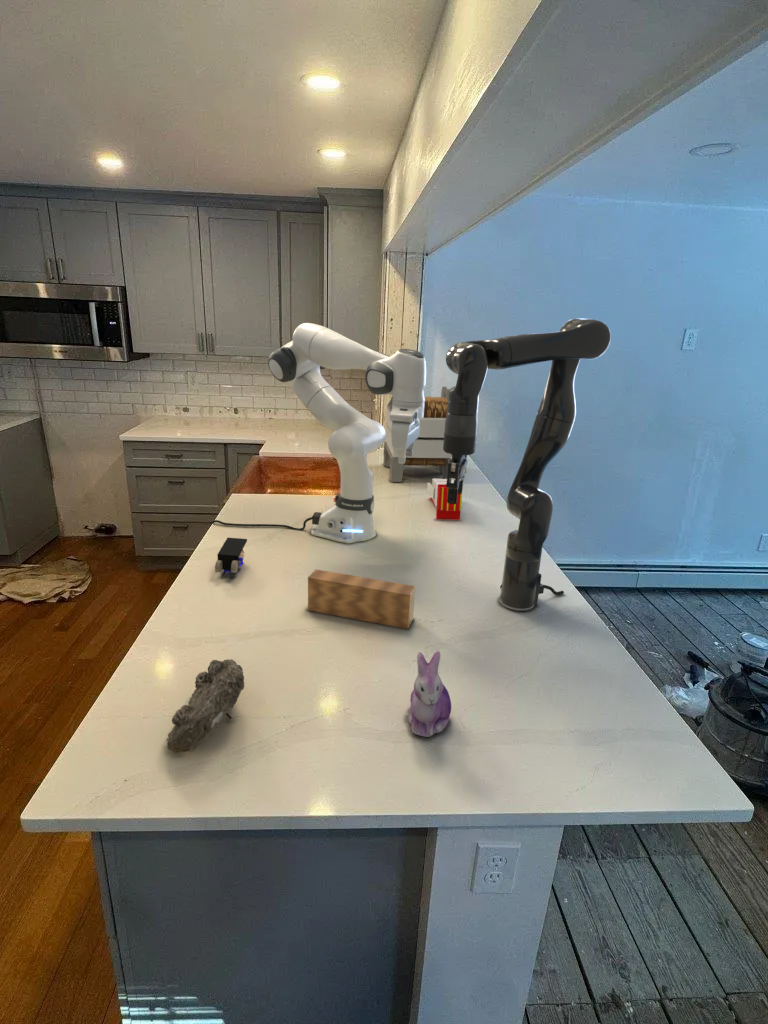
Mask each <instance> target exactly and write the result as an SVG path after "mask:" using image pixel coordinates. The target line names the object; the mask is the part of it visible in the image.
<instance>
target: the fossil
mask: <svg viewBox="0 0 768 1024" xmlns="http://www.w3.org/2000/svg"><path fill="white" fill-rule="evenodd" d="M243 670H244V669H243V667H242V665H240V664H237V662H236V661H235V660H234V659H232V658H231V659H227V658H226V659H224V660H223V661H222V660H217V659H212V660H211V661H210V663H209V665H208V666H207V671H201V672H199V673H198V674H197V675H196V676H195V680H194V684H195V685H194V687H195V689H194V690H193V693H192V694H191V697H190V698H189V700H188V704H184V705H182V706H181V707H180V709H177V710H176V711H175V713H174V715H173V716H172V718H171V723H172V724H173V727H172V730H171V731H170V732H168V734H167V738H166V741H167V742H166V745H167V749H168V750H169V751H173V752H174V753H176V754H178V753H182V752H188V751H189V752H192V751H193V750H195V748H196V747H197V746H199V744H200V743H201V742H203V741H204V740H205V739H206V738H207V737H208V736H209V735H210V734H211V733H212V732H214V730H215V729H217V727H218V726H219V724H220V722H221V721H222V720H223V719H224V718H225V716H226V717H227V719H229V720H233V717H232V715H230V714H229V710H230V709H231V708H234V706H235V704H236V703H237V702H238V699H239V697H240V695H241V693H242V691H243V690H245V689H244V688H245V675H244V671H243Z"/></svg>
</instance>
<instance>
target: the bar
mask: <svg viewBox="0 0 768 1024" xmlns="http://www.w3.org/2000/svg"><path fill="white" fill-rule="evenodd" d="M415 594H416V585H411V584H404V583H398V582H392V581H387V580H382V579H381V580H380V579H374V578H370V577H363V576H358V575H357V576H356V575H352V574H346V573H341V572H334V571H327V570H322V569H314V570H313V571H312V572H311V573H310V575H308V577H307V610H308V611H311V612H316V613H322V614H327V615H332V616H337V617H342V618H343V617H344V618H348V619H352V620H358V621H365V622H369V623H374V624H379V625H384V626H385V625H386V626H389V627H396V628H401V629H407V630H409V628H410V626H411V624H412V623H413V619H414V611H415V610H414V609H415Z"/></svg>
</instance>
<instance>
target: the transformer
mask: <svg viewBox="0 0 768 1024" xmlns="http://www.w3.org/2000/svg"><path fill="white" fill-rule="evenodd" d="M450 389H451V388H447V386H442V387H441V392H440V393H441V394H440V396H424V398H425V404H424V418H422V419H420V434H419V437H418V438H417V439H416V440H415V444H414V448H413V455H412V456H406V452H405V457H406V462H405V463H404V464H399V463H398V453H397V450H393V448H392V441H391V424H392V421H390V413H391V410H392V403H393V396H392V395H391V398H390V400H389V402H388V404H387V405H386V413H385V414H386V415H385V423H386V428H385V433H386V438H385V441H384V443H383V466H384V467H388V468H389V475H388V476H389V477H388V478H389V480H390V482H391V483H402V482H403V475H404V469H405V466H406V467H407V466H411V467H412V466H413V467H415V466H416V467H417V466H418V467H436V468H437V470H438V469H439V473H440V474H441V475H443V479H447V474H448V463H449V460H450V459H451V458H452V455H451V454H450V453H446V452H444V450H443V442H444V429H445V420H446V415H447V404H448V395H449V391H450ZM406 450H407V449H406Z"/></svg>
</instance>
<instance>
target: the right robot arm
mask: <svg viewBox="0 0 768 1024" xmlns="http://www.w3.org/2000/svg"><path fill="white" fill-rule="evenodd" d="M611 339H612V334H611V330H610V328H609V326H608V325H607V323H605V322H604V321H602V320H599V319H594V318H572V319H569V320H567V321H565V323H563V324H562V326H561V327H560V330H559V331H554V332H553V331H552V332H541V333H539V332H538V333H524V334H515V335H507V336H501V337H497V338H492V339H480V340H467V341H461V342H456V343H454V344H453V345H451V346H450V347H449V349H448V350H447V352H446V355H445V363H446V366H447V368H448V369H449V370H450V371H451V372H452V373H453V374H457V379H456V384H455V386H452V387H450V388H449V389H450V391H449V395H448V404H447V415H446V420H445V429H444V442H443V450H444V452H446V453H450V454H451V455H452V458H451V459H450V460H449V463H448V474H447V484H446V488H448V498H447V503H449V504H456V503H457V495H458V494H461V493H462V494H463V489H464V479H465V477H466V474H467V465H468V456H471V455H473V454H475V452H476V447H477V445H476V443H477V437H478V423H479V422H478V413H479V403H480V398H479V397H480V394H481V391H482V389H483V386H484V383H485V380H486V376H487V373H488V370H497V371H498V370H506V369H511V368H517V367H522V366H527V365H533V364H537V363H538V364H539V363H544V362H549V361H550V362H551V366H550V368H549V373H548V377H547V380H546V383H545V387H544V391H543V394H542V397H541V401H540V404H539V407H538V409H537V412H536V415H535V418H534V422H533V425H532V429H531V432H530V436H529V439H528V442H527V445H526V448H525V451H524V454H523V456H522V460H521V462H520V465H519V467H518V470H517V472H516V474H515V477H514V479H513V481H512V484H511V486H510V488H509V491H508V493H507V497H506V508H507V511H508V513H510V514H511V515H512V516H514V517H515V518H516V519H518V520H519V523H518V529H515V530H512V531H510V532H509V533H508V535H507V538H506V539H507V540H506V547H505V548H506V550H505V557H504V562H503V563H504V564H503V571H502V578H501V579H502V580H501V585H500V586H499V588H500V595H499V603H500V604H501V606H503V607H504V608H506V609H509V610H511V611H517V612H527V611H531V610H532V609H534V607H537V606H538V602H539V596H540V595H541V594H544V590H545V589H546V590H549V591H550V592H551V593H552V594H553V595H555V596H559V595H564V593H565V591H564V590H559V591H556V590H555V589H554V588H553V587H552V586H549V585H547V584H543V583H541V581H542V573H540V567H541V562H542V561H541V560H542V554H543V548H544V543H545V542H546V540H547V538H548V536H549V531H550V526H551V521H552V517H553V511H554V504H553V499H552V496H551V495H550V494H548V493H547V492H546V491H545V490H544V491H543V490H542V489H540V488H539V487H540V483H541V480H542V477H543V475H544V472H545V470H546V468H547V466H548V465H549V463H551V462H552V461H553V459H554V458H555V457H557V455H558V454H559V453H560V452H561V451H562V449H563V448H564V447H565V446H566V445H567V442H568V441H569V438H570V436H571V433H572V430H573V427H574V423H575V420H576V416H577V406H576V405H577V403H576V394H575V379H576V374H577V371H578V367H579V366H580V365H579V364H580V362H581V360H583V361H589V360H595V359H597V358H600V357H601V356H602V355H603V354H605V353H606V351H607V350H608V348H609V346H610V344H611ZM451 480H454V483H451Z"/></svg>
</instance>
